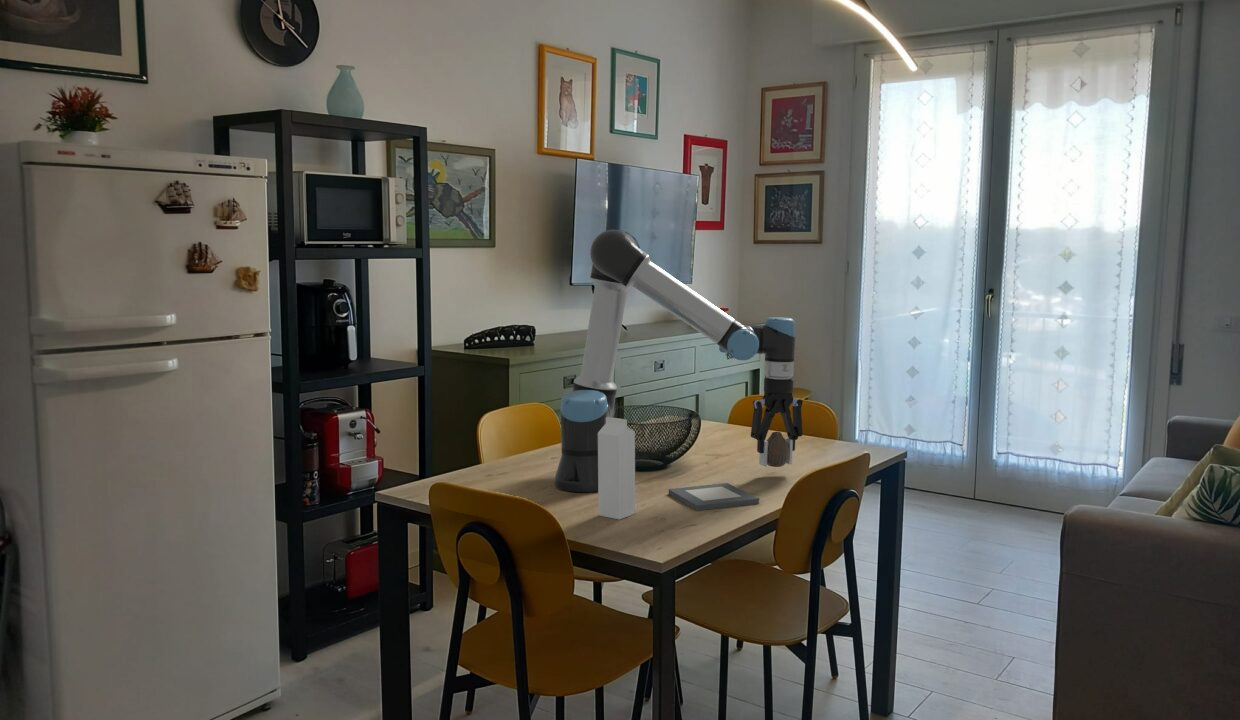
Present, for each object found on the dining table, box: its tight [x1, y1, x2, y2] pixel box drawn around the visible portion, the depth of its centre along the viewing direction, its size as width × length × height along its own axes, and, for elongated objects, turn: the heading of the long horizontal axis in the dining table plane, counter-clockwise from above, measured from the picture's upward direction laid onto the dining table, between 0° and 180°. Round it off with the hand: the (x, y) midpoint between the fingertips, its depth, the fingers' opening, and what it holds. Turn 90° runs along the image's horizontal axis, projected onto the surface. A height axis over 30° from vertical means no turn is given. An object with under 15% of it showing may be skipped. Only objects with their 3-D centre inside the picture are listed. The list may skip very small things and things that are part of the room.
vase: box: [765, 431, 789, 468], centre depth 246 cm, size 7×7×9 cm
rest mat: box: [668, 482, 760, 512], centre depth 225 cm, size 16×16×1 cm
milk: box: [597, 417, 636, 521], centre depth 211 cm, size 6×6×22 cm
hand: (775, 464), depth 247 cm, fingers closed on vase, 7 cm apart
